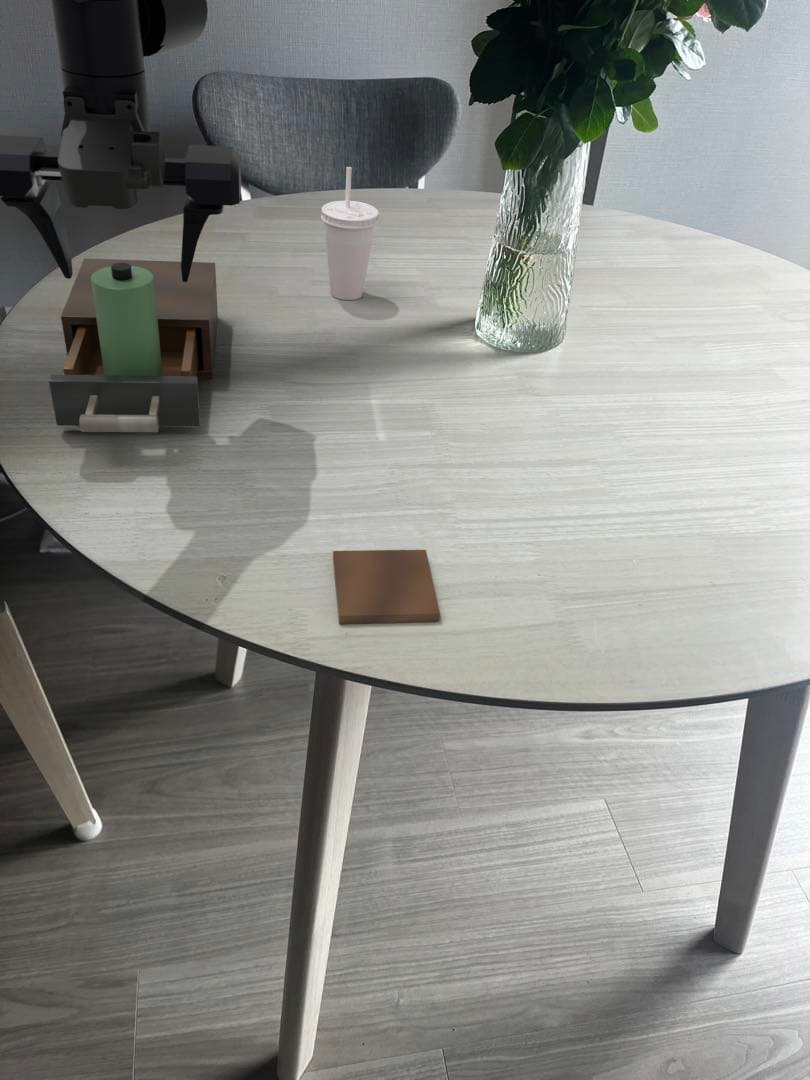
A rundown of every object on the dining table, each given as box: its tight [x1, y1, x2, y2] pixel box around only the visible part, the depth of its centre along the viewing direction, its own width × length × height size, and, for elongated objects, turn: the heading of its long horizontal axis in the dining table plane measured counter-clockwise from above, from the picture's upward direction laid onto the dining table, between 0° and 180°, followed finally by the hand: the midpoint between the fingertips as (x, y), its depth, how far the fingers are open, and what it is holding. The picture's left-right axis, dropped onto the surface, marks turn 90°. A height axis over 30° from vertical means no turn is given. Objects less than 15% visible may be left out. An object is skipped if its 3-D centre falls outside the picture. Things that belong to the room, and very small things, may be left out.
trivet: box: [332, 549, 441, 625], centre depth 65 cm, size 7×7×1 cm
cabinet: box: [60, 257, 219, 380], centre depth 89 cm, size 14×13×6 cm
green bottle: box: [91, 263, 163, 376], centre depth 77 cm, size 5×5×11 cm
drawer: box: [48, 325, 201, 433], centre depth 79 cm, size 17×12×4 cm
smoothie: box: [320, 166, 380, 301], centre depth 100 cm, size 6×6×14 cm
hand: (127, 278), depth 73 cm, fingers open, 9 cm apart
